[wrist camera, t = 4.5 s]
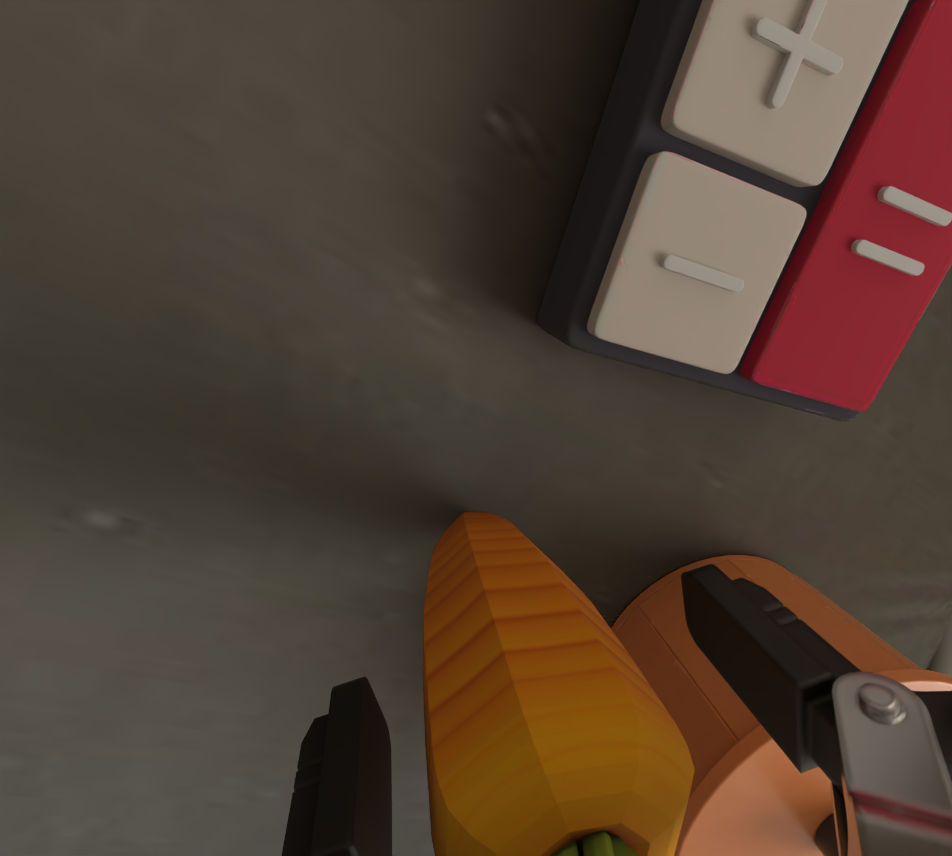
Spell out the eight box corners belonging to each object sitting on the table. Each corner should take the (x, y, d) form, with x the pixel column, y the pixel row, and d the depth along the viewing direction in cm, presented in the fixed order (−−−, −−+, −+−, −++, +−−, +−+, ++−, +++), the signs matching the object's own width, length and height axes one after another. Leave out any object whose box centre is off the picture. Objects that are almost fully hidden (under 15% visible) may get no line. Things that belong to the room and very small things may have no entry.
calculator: (570, 352, 13) (869, -493, 8) (527, 324, 17) (714, -260, 12) (876, 434, 16) (1228, -163, 11) (778, 394, 20) (1008, -60, 15)
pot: (609, 774, 24) (692, 958, 18) (576, 599, 20) (666, 755, 14) (808, 702, 25) (953, 852, 19) (812, 523, 22) (996, 635, 15)
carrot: (508, 436, 18) (1009, 1121, 4) (547, 545, 19) (981, 1283, 5) (378, 489, 17) (372, 1451, 3) (429, 595, 19) (567, 1506, 5)
